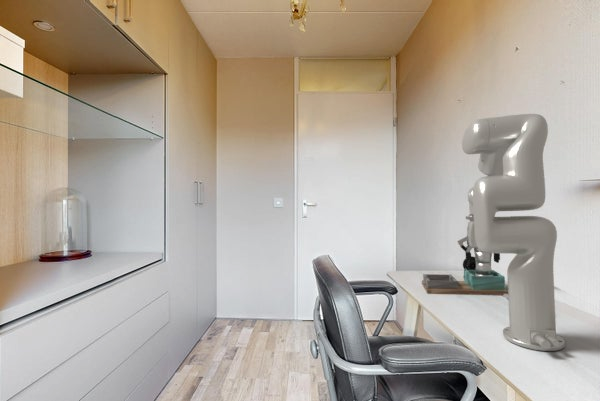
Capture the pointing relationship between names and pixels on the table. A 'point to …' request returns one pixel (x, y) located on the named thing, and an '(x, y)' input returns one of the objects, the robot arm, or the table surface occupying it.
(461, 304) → the table surface
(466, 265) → the webcam
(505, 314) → the table surface
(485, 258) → the metal bottle
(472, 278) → the sorting tray
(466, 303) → the table surface
